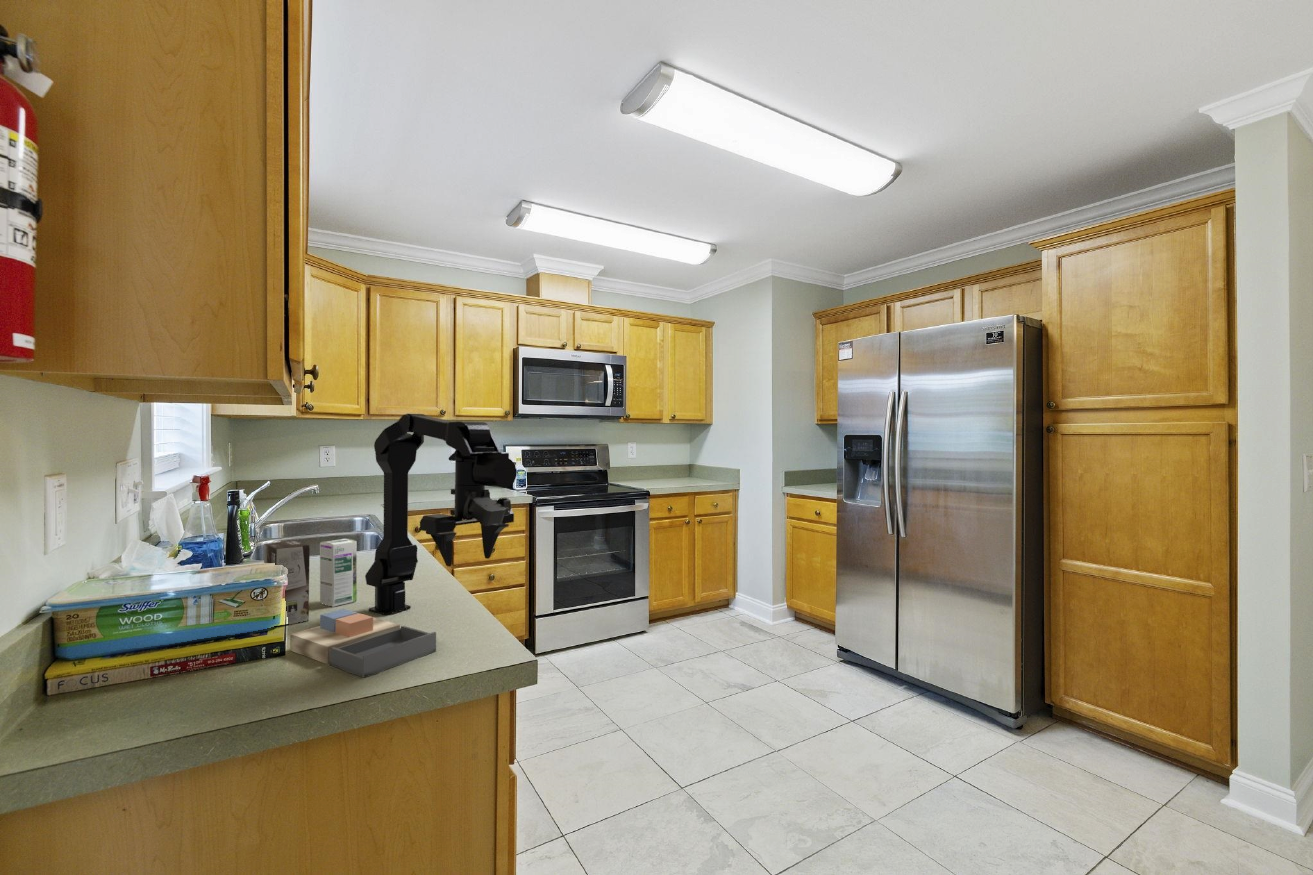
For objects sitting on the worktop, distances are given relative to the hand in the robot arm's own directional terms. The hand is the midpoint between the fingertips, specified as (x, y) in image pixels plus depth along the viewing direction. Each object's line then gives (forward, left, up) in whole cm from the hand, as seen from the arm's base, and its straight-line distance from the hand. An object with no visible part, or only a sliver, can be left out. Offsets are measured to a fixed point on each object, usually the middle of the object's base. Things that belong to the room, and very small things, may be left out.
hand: (468, 562), depth 118 cm
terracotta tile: (-11, -17, -11) cm, 23 cm away
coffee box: (-39, -15, -14) cm, 44 cm away
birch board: (-14, -17, -14) cm, 26 cm away
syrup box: (-42, -2, -14) cm, 44 cm away
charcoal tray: (-2, -17, -14) cm, 22 cm away
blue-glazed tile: (-16, -17, -11) cm, 26 cm away
